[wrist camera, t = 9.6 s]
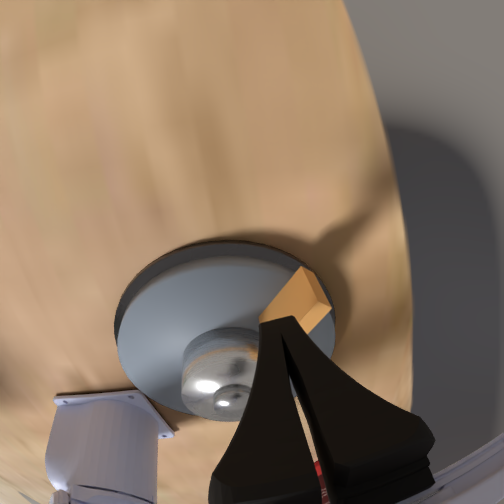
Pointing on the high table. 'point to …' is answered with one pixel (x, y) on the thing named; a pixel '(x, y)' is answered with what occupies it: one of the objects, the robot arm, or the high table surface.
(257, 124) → the high table surface
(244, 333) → the cover
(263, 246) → the turntable base
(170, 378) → the turntable
